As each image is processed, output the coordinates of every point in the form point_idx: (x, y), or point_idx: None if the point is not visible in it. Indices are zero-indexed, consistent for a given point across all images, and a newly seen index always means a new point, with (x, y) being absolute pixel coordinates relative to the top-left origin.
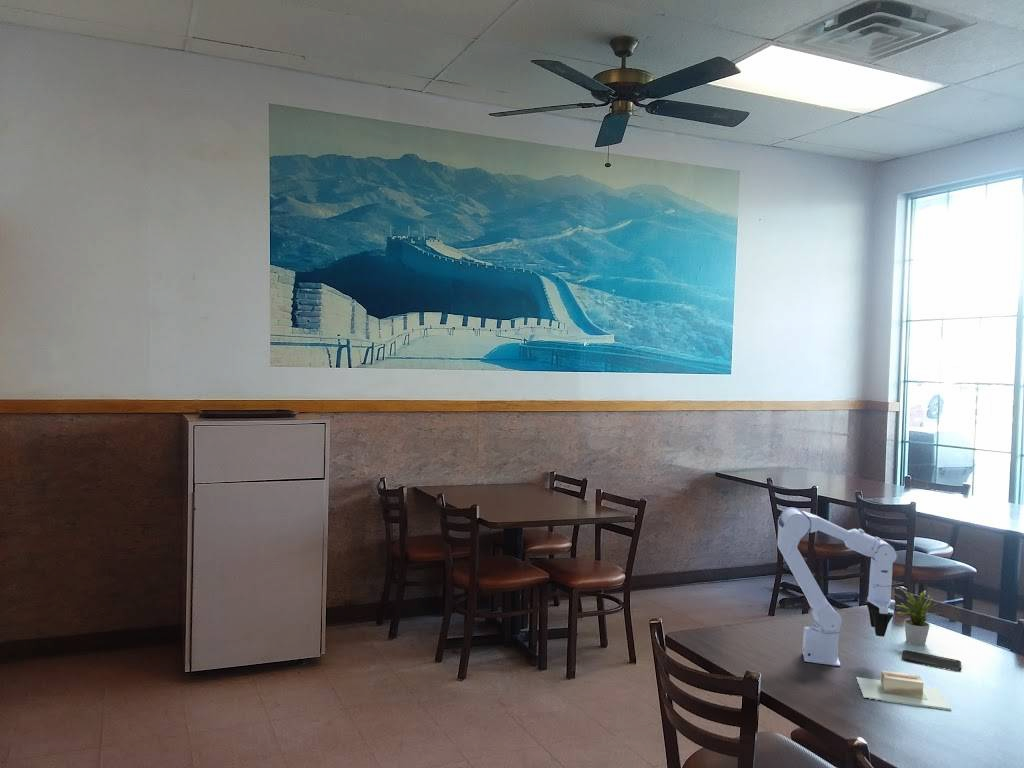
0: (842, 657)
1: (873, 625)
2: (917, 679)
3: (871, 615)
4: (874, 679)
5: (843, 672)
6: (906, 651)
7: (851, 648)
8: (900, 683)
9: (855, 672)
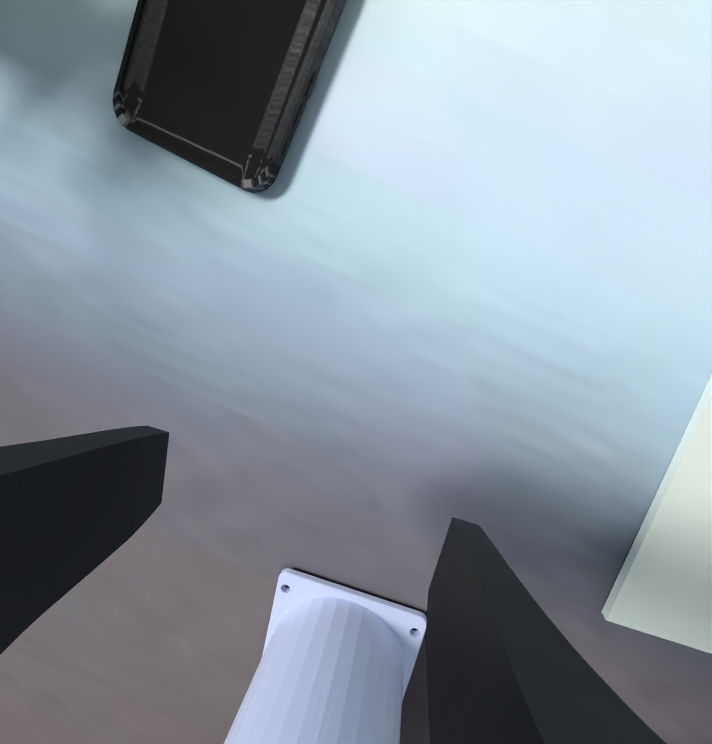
0: (287, 538)
1: (150, 496)
2: None
3: (33, 605)
4: (647, 538)
5: None
6: (131, 106)
7: None
8: None
9: None
